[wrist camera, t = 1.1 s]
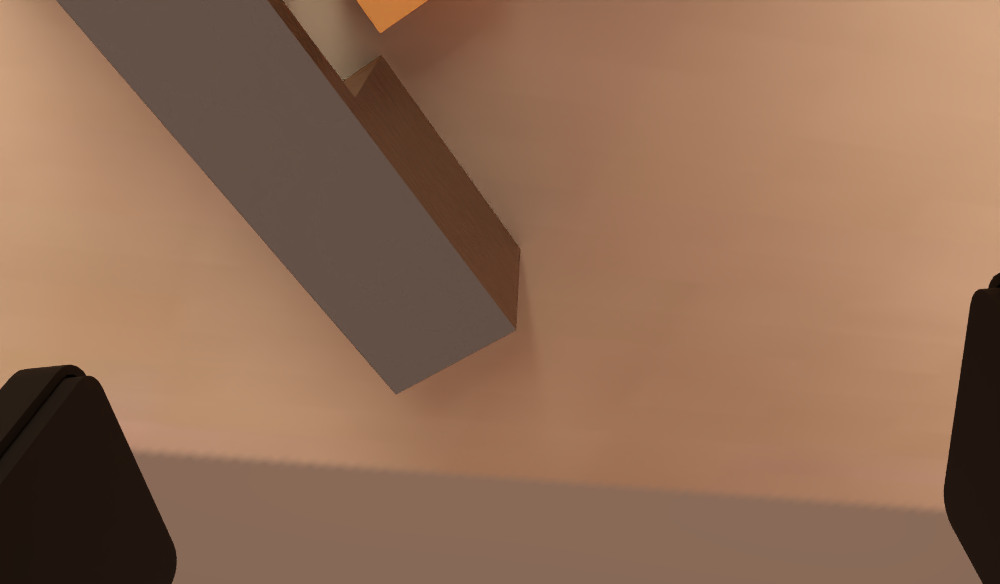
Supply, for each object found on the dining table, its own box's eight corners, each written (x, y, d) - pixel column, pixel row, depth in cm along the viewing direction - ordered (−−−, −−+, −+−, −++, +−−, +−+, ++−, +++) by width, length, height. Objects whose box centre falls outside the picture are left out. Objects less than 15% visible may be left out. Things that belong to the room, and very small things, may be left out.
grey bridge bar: (64, -388, 25) (-62, -435, 20) (519, 249, 35) (515, 329, 29) (-50, -273, 27) (-193, -289, 22) (417, 307, 36) (396, 394, 31)
